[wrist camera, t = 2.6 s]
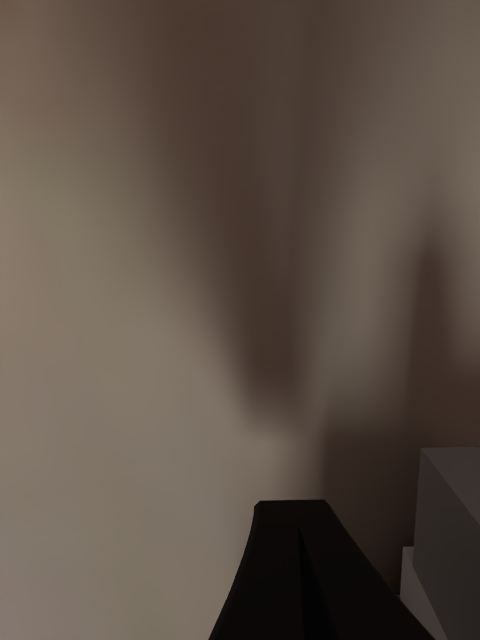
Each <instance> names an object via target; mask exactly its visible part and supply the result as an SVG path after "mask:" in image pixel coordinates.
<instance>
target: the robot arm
mask: <svg viewBox="0 0 480 640" xmlns="http://www.w3.org/2000/svg"><path fill="white" fill-rule="evenodd" d="M208 640H436V639H435V638H434V637H433V636H432V635H431V634H430V633H429V632H428V630H427V629H426V628H425V627H424V626H423V625H422V624H421V623H420V622H419V620H418V619H417V618H416V617H415V616H414V615H413V614H412V613H411V611H410V610H409V609H408V608H407V607H406V606H405V604H404V603H403V602H402V601H401V600H400V598H399V597H398V596H397V595H396V594H395V593H394V591H393V590H392V589H391V588H390V586H389V585H388V584H387V583H386V581H385V580H384V579H383V578H382V576H381V575H380V574H379V573H378V571H377V570H376V569H375V568H374V567H373V565H372V564H371V563H370V561H369V560H368V559H367V558H366V556H365V555H364V554H363V552H362V551H361V550H360V548H359V547H358V546H357V544H356V543H355V541H354V540H353V539H352V537H351V536H350V535H349V533H348V532H347V530H346V529H345V528H344V526H343V525H342V523H341V522H340V520H339V519H338V517H337V516H336V514H335V513H334V511H333V510H332V508H331V507H330V505H329V504H328V503H327V502H326V501H325V500H273V501H259V502H258V503H257V504H256V505H255V506H254V516H253V521H252V526H251V531H250V534H249V538H248V541H247V545H246V548H245V551H244V554H243V557H242V560H241V563H240V565H239V568H238V571H237V574H236V576H235V579H234V582H233V584H232V587H231V590H230V592H229V594H228V597H227V599H226V601H225V604H224V606H223V608H222V610H221V613H220V615H219V617H218V619H217V622H216V624H215V626H214V628H213V630H212V633H211V635H210V637H209V639H208Z"/></svg>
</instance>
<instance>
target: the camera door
mask: <svg viewBox="0 0 480 640" xmlns="http://www.w3.org/2000/svg"><path fill="white" fill-rule="evenodd" d="M400 599H401V601H402V602H403V603H404V604H405V606H406V607H407V608H408V609H409V610H410V611H411V613H412V614H413V615H414V616H415V617H416V618H417V619H418V620H419V622H420V623H421V624H422V625H423V626H424V627H425V628H426V629H427V630H428V632H429V633H430V634H431V635H432V636H433V637H434V638H435V639H436V640H480V449H479V448H478V447H432V448H420V462H419V477H418V491H417V506H416V520H415V534H414V547H403V556H402V572H401V588H400Z"/></svg>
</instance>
